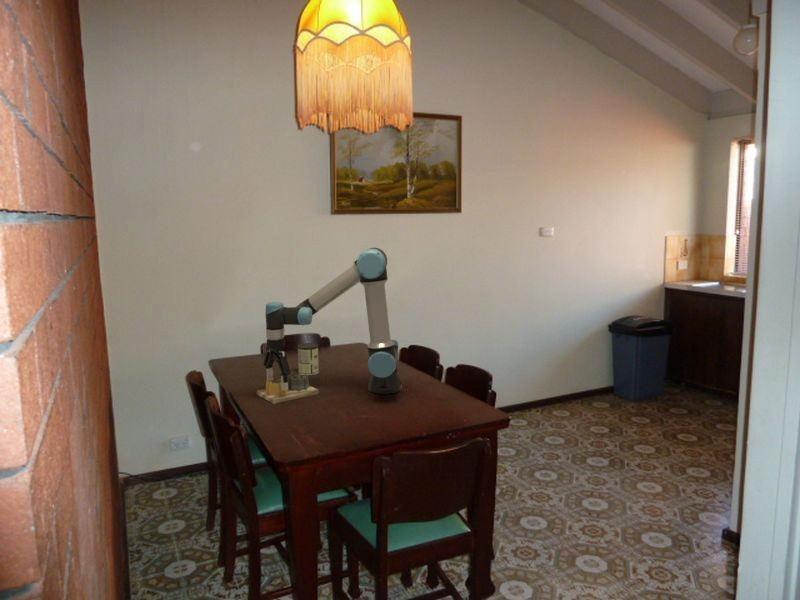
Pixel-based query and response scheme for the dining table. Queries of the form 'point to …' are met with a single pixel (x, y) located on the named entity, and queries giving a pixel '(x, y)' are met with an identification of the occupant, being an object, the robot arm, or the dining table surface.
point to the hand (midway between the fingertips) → (277, 386)
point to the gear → (274, 388)
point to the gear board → (291, 390)
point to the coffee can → (308, 359)
